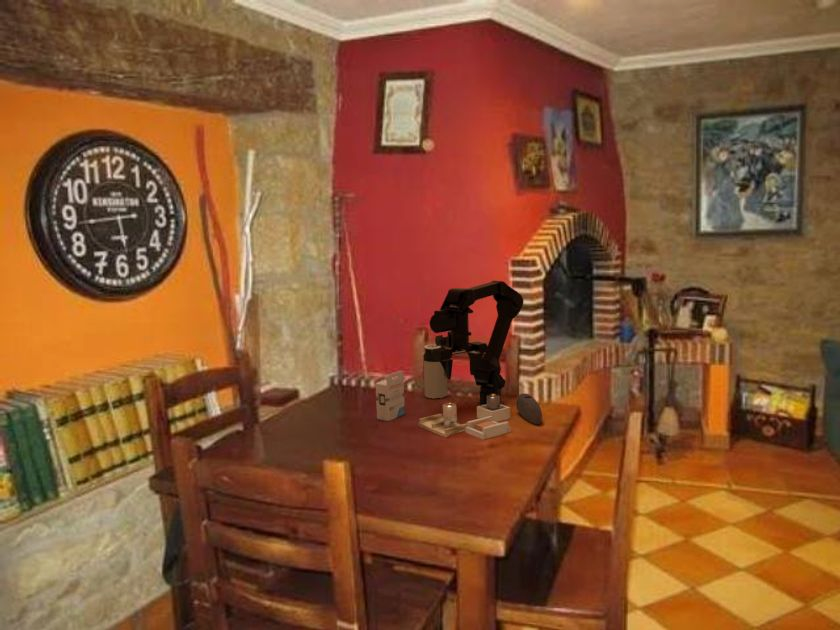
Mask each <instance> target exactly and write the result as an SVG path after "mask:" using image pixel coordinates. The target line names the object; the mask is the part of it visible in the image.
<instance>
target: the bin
mask: <svg viewBox="0 0 840 630" xmlns="http://www.w3.org/2000/svg"><path fill="white" fill-rule="evenodd" d="M488 416H492V417H493V421H495V422H497V423H500V422H504V421H506V420H509V419H511V407H510V406H507V405H504V404H500V409H499V410H495V411H491V410H488V409H487V404H486V405H482V404H481V405H478V406H476V419H480V418H484V417H488Z"/></svg>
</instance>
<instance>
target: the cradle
mask: <svg viewBox="0 0 840 630" xmlns="http://www.w3.org/2000/svg"><path fill="white" fill-rule="evenodd" d="M488 421H489V422H492V423H494V424H495V425H491V426H488V427H484V428H482V432H481V431H478V430H476V424H480V423H484V422H488ZM466 424H467V427H465V431H464V432H465V433H466V434H469V435H471V436H474V437H475V438H476V437H477V438H478V439H480V440H486V439H490V438H494V437H498V436H501V435H505V434H510V432H511V427H510V424H509V421H502V422H495V421H493V417H492V416H488V417H484V418H480V419H479V418H476V419H472V420H469V421H466Z"/></svg>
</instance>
